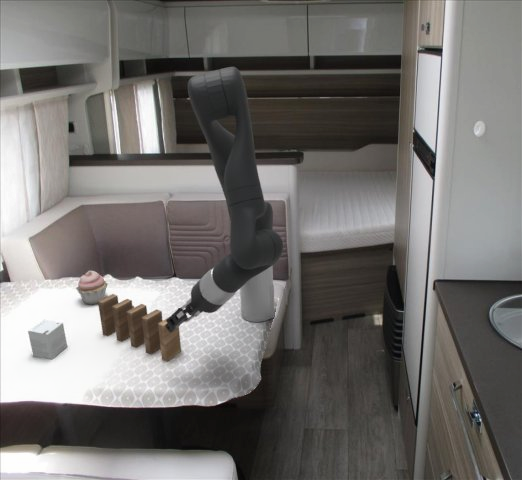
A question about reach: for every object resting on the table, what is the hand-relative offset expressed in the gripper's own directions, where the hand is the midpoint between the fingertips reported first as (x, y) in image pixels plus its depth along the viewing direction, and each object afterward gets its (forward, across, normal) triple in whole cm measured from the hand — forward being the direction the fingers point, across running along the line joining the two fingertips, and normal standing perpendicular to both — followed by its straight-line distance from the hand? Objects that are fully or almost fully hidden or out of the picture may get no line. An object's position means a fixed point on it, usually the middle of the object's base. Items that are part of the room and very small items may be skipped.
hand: (181, 320), depth 121 cm
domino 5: (+11, 0, +5) cm, 12 cm away
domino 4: (+15, 0, +1) cm, 15 cm away
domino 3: (+19, 0, -3) cm, 19 cm away
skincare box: (+31, +16, -15) cm, 37 cm away
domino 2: (+23, 0, -7) cm, 24 cm away
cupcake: (+41, -9, -25) cm, 49 cm away
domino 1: (+27, 0, -11) cm, 29 cm away
